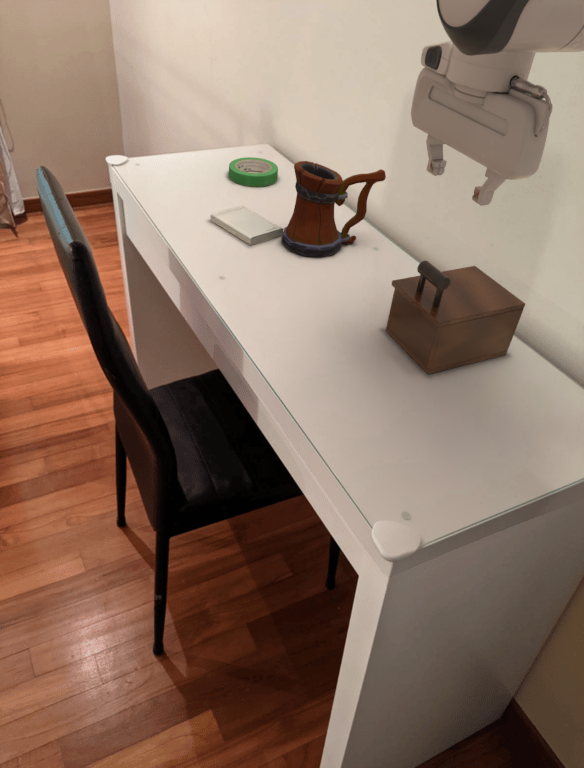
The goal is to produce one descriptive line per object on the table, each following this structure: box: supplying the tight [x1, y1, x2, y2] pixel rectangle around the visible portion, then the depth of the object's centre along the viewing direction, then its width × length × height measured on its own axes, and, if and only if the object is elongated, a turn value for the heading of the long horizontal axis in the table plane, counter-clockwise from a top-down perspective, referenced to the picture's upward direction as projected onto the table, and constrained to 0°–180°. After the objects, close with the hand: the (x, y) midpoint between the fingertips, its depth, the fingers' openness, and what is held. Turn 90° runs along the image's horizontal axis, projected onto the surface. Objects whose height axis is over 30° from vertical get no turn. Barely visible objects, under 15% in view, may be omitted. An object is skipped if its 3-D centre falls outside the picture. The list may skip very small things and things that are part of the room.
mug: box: [281, 160, 387, 258], centre depth 112 cm, size 18×12×15 cm, turn 101°
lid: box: [391, 260, 526, 327], centre depth 87 cm, size 15×12×5 cm
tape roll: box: [228, 156, 279, 188], centre depth 138 cm, size 11×11×3 cm
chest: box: [385, 288, 524, 375], centre depth 92 cm, size 15×12×8 cm
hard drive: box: [209, 205, 284, 246], centre depth 118 cm, size 2×8×12 cm
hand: (456, 187), depth 76 cm, fingers open, 8 cm apart
